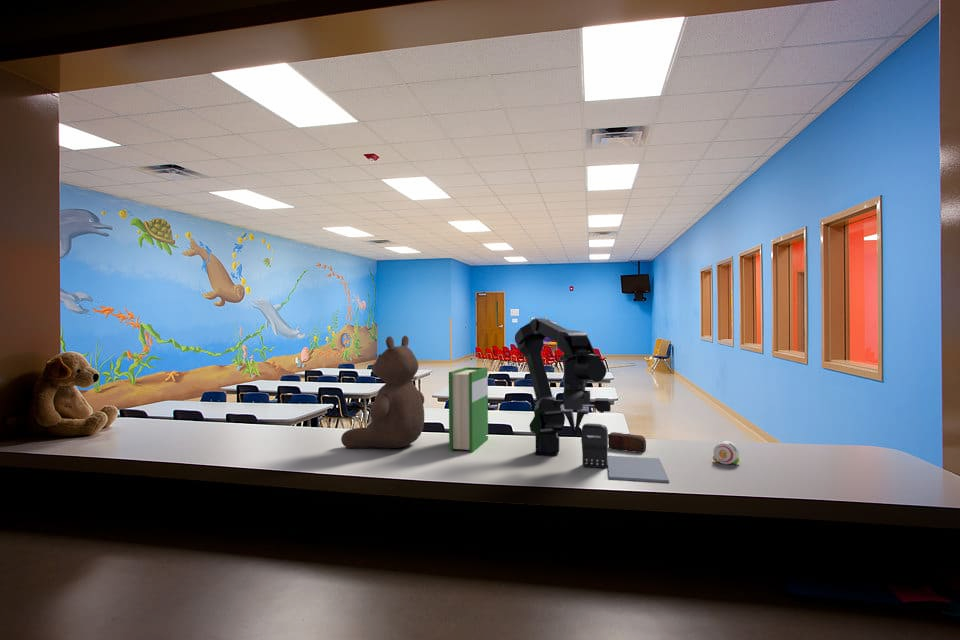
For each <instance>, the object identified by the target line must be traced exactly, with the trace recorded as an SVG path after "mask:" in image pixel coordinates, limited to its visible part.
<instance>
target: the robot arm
mask: <svg viewBox="0 0 960 640" xmlns="http://www.w3.org/2000/svg"><path fill="white" fill-rule="evenodd" d="M547 338H548V339H549V340H551V341H553V342H555V343H556V347H557V349H559V350H560V351H561V352H562V353H563V354H562V355H561V356H560V357H559V361H562V362H563V392H562V399H556V397H555V396H553V393H552V390H551V389H552V388H551V386H550V382H549V377H548V374H547V370H546V367H545V364H544V360H543V356H542V351H543V348H544V346H545V345H544V341H545V340H546V339H547ZM514 342H515V344H516V346H517V349H518V352H519V353H521V354H522V356H523V357H524V358H525V360H526V364H527V369H528V372H529V376H530V380H531V384H532V388H533V390H534V391H533V392H534V396H535V399H536V400H535V401H536V403H535V406H534V410H533V413H534V416H533V418H532V420H531V422H530V423H529V431H530V433H533V434H535V451H534V455H537V456H558V453H560V444H561V443H560V442H561V441H560V436H558V433H563V431H564V426H565V422H566V420H567V422H568V424H569V427H570V429H571V432H572V436H573V437H577V435H578V434H579V433H578V432H579V429H580V426H581V423H582V421H583V418H584V417H585V415H589V412H590V408H591V409H595V410H596V411H597V412H605V413H608V412H609V413H610V412H611V400H610V398H608V397H607V398H606V397H602V398H601V397H595V399H594V400H591V390H586V381H589V382H590V381H591V382H597V383H599V382H601V381H603V379H604V378H605V377H606V375H607V367H606V364H605V363H604V361H603V360H601V359H600V358H601V357H600V354H596V351H595V349H594V347H593V346H592V343H591V341H590V339H589V336H588V334H587V333H586V332H585V331H580V330H572V329H566V328H564V327H563V326H561V325H558V324H557V323H554V322H552V321H550V320H549V319H548V318H546V317H544V318H543V317H541V318H540V317H539V318H538V317H537V318H533V319H531V321H530V322H528V323H526V324H525V325H523V326H521V327H520V328H519V330H517V332H516V333H515V335H514ZM574 410H576V411H577V412H576V420H575V417H574Z"/></svg>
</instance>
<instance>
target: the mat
mask: <svg viewBox="0 0 960 640" xmlns="http://www.w3.org/2000/svg"><path fill="white" fill-rule="evenodd" d="M607 469H608V471H609V472H608V480H616V479H620V481H633V480H636V481H635V482H638V481H639V482H649V481H650V482H651V483H652V482H653V483H654V482H655V483H670V479H669V476H668V475H667V472H666V471H665V468H664V466H663V464H662V462H661V459H660V458H659V457H640V456H639V457H638V456H621V455H620V456H619V455H608V466H607Z"/></svg>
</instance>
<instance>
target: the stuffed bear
mask: <svg viewBox="0 0 960 640" xmlns="http://www.w3.org/2000/svg"><path fill="white" fill-rule="evenodd" d="M409 341H410V340H409V336H407V335H403V336H402V338H401V345H397V346H395V342H394V339H393V337H392V336H391V335H390V336H387V337H386V339H385V345H386V347H387V349H385V350H384V351H383V352H382V353H380V354H378V356H377V359H376V360H375V362H374V363H373V364H371V365H370V367H371V372H372V373H373V375H375V376H377V378H379V379H380V380H382V381H383V382H384V384H383V385H382V386H381V387H380V388H379V389H378V391H377V394H376V397H375V399H374V401H373V402H372V404H371V406H370V408H369V415H370V420H371V421H370V423H369V424H368V425H367V426H366V427H357V428H356V427H355V428H351V429H348V430H346V431H344V433H342V435H341V439H340V441H341V444H342V445H343V446H344V447H345V448H347V449H348V448H350V449H362V448H363V449H366V448H368V449H369V448H370V449H372V448H373V449H374V448H378V449H379V448H380V449H381V448H382V449H399V448H403V447H406V446H409V445H410V444H412V443H414V442H416V441H417V440H418V439H419V437H420V436H421V435H422V433H423V430H424V426H425V425H424V424H425V408H424V403H425V396H424V394H423V393H422V392H421V391H420V390H419V389H418V388H417V386H416V385H414V384H413V383H412V382H411V381H412V379H414V377H415V376H416V375H417V372H418V370H419V362H418V361H419V360H418V359H417V357H416V356H415V354H414V352H413V351H412V350H411V348H409V347H408V346H409Z"/></svg>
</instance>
